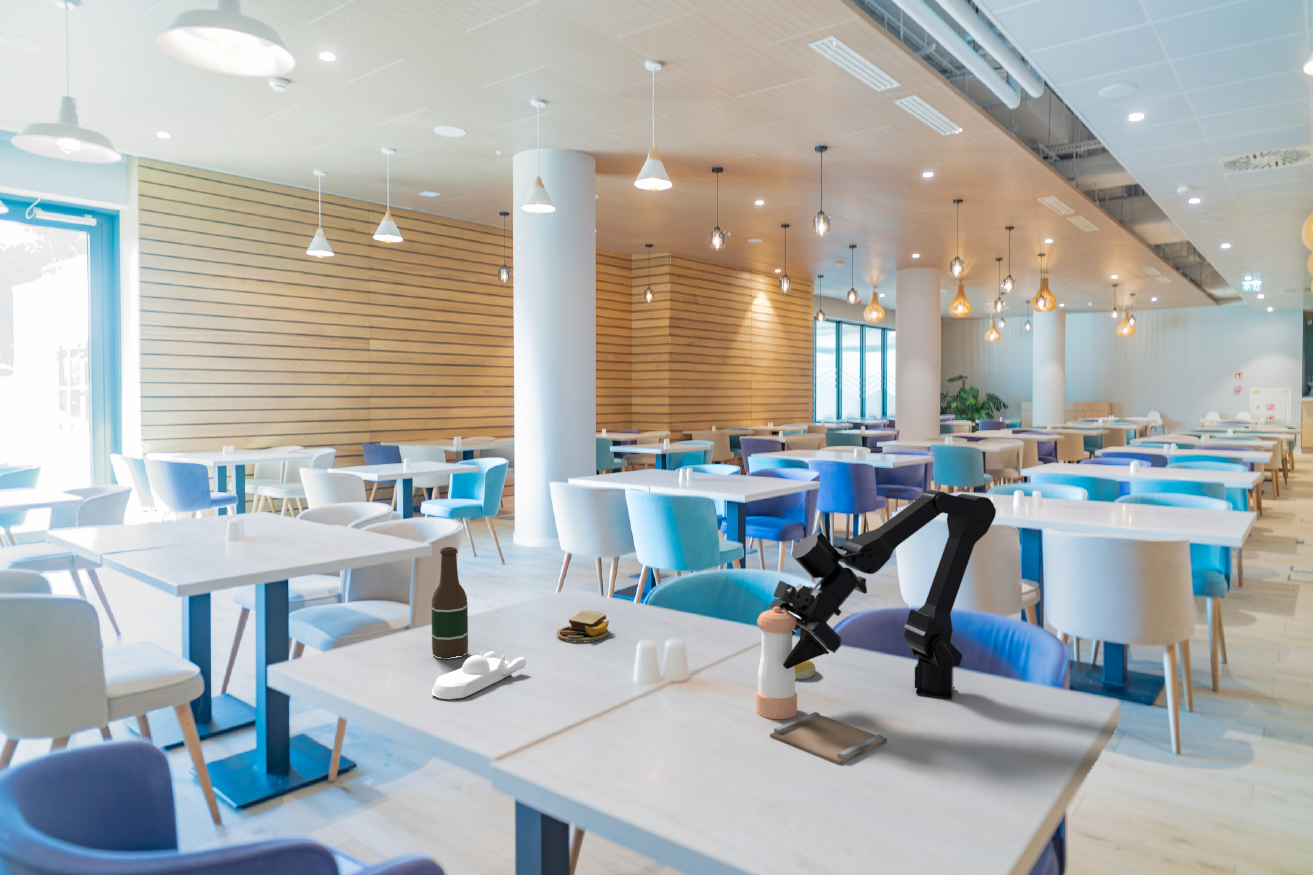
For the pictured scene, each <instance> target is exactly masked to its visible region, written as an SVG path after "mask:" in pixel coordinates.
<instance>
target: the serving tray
mask: <svg viewBox="0 0 1313 875" xmlns="http://www.w3.org/2000/svg"><path fill="white" fill-rule="evenodd" d="M769 737H770V738H771V739H774V740H777V741H779V742H782V743H784V744H786V745H790V746H792V747H794V748H797V749H799V750H802V751H804V752H807V753H809V754H812V755H814V756H816V757H820V758H821V759H824V760H825V761H826V760H827V761H829V762H831V761H832V763H834V764H837V765H841V764H843V763H845V761H846V762H848V761H849V760H852V759H854V758H856V757H858V756H860V755H862V754H864V753H867V752H868V751H867V750H869V751H870V749H871V750H873V749H875V748H877V747H879V746H882V745H883V744H885V743H887V742H888V738H886V737H885V736H884V735H881V734H875V733H872V732H870V731H867V730H864V729H861V728H858V727H855V726H853V725H849V724H846V723H844V722H841V721H838V720H835V719H832V718H829V717H826V716H825V715H821V713H819V712H817V711H813V712H811V713H809V714H807V715H804V716H802V717H798V718H796V719H794V720H792V721H789V722H787V723H784V724H781V725H779V726H776V727H774V728H773V732H771V733H770V734H769ZM874 747H875V748H874ZM872 748H873V749H872ZM861 753H862V754H861ZM857 755H858V756H857ZM851 758H852V759H851Z"/></svg>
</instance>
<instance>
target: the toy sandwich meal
mask: <svg viewBox="0 0 1313 875" xmlns="http://www.w3.org/2000/svg"><path fill="white" fill-rule="evenodd" d="M606 619H607V615H606V614H605V613H604V612H600V611H596V610H591V609H590V610H588V609H584V610H580V611H579V612H578V613H576V615H573V616H572V617H571V618H569V619H568V623H569V624H570V625H568V626H564V627H561V628H559V629H558V630H557V631H556V636H558V637H559V639H561V640H562V639H564V640H563V641H565V640H568V641H567V642H569V641H576V642H575V643H585V642H584V641H592V642H594V641H593V640H597V639H600V640H602V639H604V638H606V636H607V635H608V634H609V629H608V626H609V622H610V621H609V620H606ZM603 637H604V638H603ZM601 638H602V639H601ZM597 641H598V640H597Z"/></svg>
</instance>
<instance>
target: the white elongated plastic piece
mask: <svg viewBox="0 0 1313 875" xmlns="http://www.w3.org/2000/svg"><path fill="white" fill-rule="evenodd" d="M526 665H527V662H526V659H525V657H523V656H519V657H517V658H515V659H513V660H512V661H511V662H509V661H508V660H506V654H503V655H502V657H501V658H500V659H499V658H497V654H496V653H495V652H494V651H491V650H490V651H488V652H485V653H484V650H481V651H480V653H479V654H477V655H471V656H469V657H468V658H466V660H464V662H463V663H462V666H461V667H460V668H459V669H455V670H453V671H450V672H448V673H445V674H443V675H440V676H438V677H437V678H436V679H435V682H434V685H433V688H432V689H431V696H432V695H433V696H432V697H434V696H436V697H435V698H437V697H438V699H441V700H442V699H443V700H455V699H463V698H466V697H468V696H470V695H473V694H475V693H477V692H479V691H481V690H483V689H486V688H487V687H489V686H491V685H493V684H495V683H497V682H499V681H501V680H503V679H505V678H507V677H509V676H510V675H512V674H513V673H515V672H517V671H518V670H522V669H524V668H525V667H526Z"/></svg>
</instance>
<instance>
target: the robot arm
mask: <svg viewBox="0 0 1313 875" xmlns="http://www.w3.org/2000/svg"><path fill="white" fill-rule="evenodd" d="M996 513H997V509H996V507H995V505H994V502H993V501H992V500H991V499H990V498H988V497H984V496H981V495H973V494H968V493H960V494H957V495H953V494H950V493H949V494H948V493H947V492H944V491H940V490H934V489H928V490H925V491H924V492H922V494H921V495H920V497H919V498H917V499H916V500H915V501H913V502H911V503H910V504H909V505H908V506H906V507H905V508H904V509H902V510H901V511H900V512H898V513H897V514H895V515H894V516H893V517H892V518H890V519H889V520H887V521H885V523H883V524H882V525H880V526H879V527H877V528H875V529H872V530H869V531H867V532H866V531H865V532H863V533H860V534H857V535H856V536H854V537H852V538H850V539H848V540H847V541H845V543H844V544H842V545H838V546H833V545H832V544H831V542H830V541H829V540H828V539H827V537H826V536H825V535H824V533H823V532H820V531H817V530H816V531H814V533H812V535H809V536H806V537H805V538H802V540H800V541H798V542H797V543H796V545H795V546H794V547H793V549H792V551H791V556H792V558H793V559H794V560H795V561H796V562H797V563H798V564H799V565H800V566H801V567H802V568H803V569H804V570H805V572H806V573H808V574H809V575H810V577H811V578H813V579H819V578H820V580H819V581H818V583H817V584H815V586H814V587H813V586H811V585H809V586H806V585H803V584H802V583H798V584H797V586H794V585H791V584H789V583H786V582H785V581H784V580H783V581H782V580H779V581H778V583H777V586H776V588H775V590H774V592H773V595H772V596H773V597H774V600H772V602H771V603H770V604H769V605H768V607H769V610H772V609H773V607H780V608H781V609H782V610H784V611H787V612H789V613H791V614H793V615H794V617H795V619H796V622H797V624H796V627H795V629H794V630H793V631H792V637H793V636H795V635H796V634H797V633H796V632H795V631H797V630H799V629H800V632H799V633H800V634H799V640H798V642H797V643H796V644H795V646H794V647H792V651H791V653H790V654H789V655H788V657H787V658H786V660H785V662H784V663H783V666H784V667H785V668H786V669H789V668H791V667H793V666H796V665H798V664H800V663H803V662H805V661H807V660H810V661H811V660H812V659H815V658H817V657H821V656H823V655H829V654H830V652H831V653H833V654H835V653H837V651H839V649H840V648H841V646H842V637H841V636H840V635H839V634H838V633H837V632H836V631H835V630H834V629H833V628H832V627H831V625H829V624H828V622H829V620H830V619H831V618H832V617H833V616H837V617H839V616H840V615H841V614H842V610H841V609H840V608H841V606H842V605H843V604H844V603H845V602H846V601H847V599H848V598H849V597H850V596H851V595H852V593H853V592H854V591H857V592H860V593H861V594H865V595H866V594H868V588H867V578H865V577H862V576H858V575H856V573H855V572H854V571H853V570H855V571H857V572H860V573H863V574H867V575H872V574H873V575H874V574H876V573H878V572H879V571H880V570H881V569H883V567H884V565H886V564H887V562H889V561H890V559H891V558H892V555H893V552H894V550H895V549H896V548H897V547H899V545H901V544H902V543H904V542H905V541H906V540H908V539H909V538H911V536H913V535H914V534H915V533H917V532H918V531H919V530H921V529H922V528H923V527H925V526H926V525H927V524H929V523H930V522H931V521H933V520H934V519H935V518H937V517H938V516H939V515H941V514H947V516H946V524H947V530H948V537H947V540H946V543H945V545H944V548H943V551H942V554H941V557H940V560H939V562H938V566H937V568H936V572H935V575H934V577H933V579H932V583H931V586H930V588H929V591H928V595H927V597H926V599H925V600H926V601H925V603H924V605H922V606H921V607H920V608H919V609H917V610H916V609H914V608H911V609H910V610H909V611H908V612H909V613H908V618H907V620H906V623H905V624H904V626H903V628H902V629H905V630H904V634H903V635H904V638H903V639H904V640H905V641H906V642H905V643H906V644H907V646H909V648H910V651H911V654H912V655H913V657H918V660H917V663H916V664H915V667H914V688H915V689H916V690H915V694H916V695H919V696H927V697H933V698H941V699H948V700H952V699H953V696H954V692H955V689H956V688H955V686H954V671H955V670H954V668H955V667H959V666H961V663H962V661H963V660H962V659H963V654H962V653H961V652H960V651H959V649H957V647H955V646H954V644H953V643H952V637H953V632H954V628H953V623H952V616H951V613H952V610H953V608H954V605H955V602H956V599H957V596H958V595H959V594H958V593H959V590H960V588H961V585H962V581H963V579H964V576H965V574H966V570H967V567H968V565H969V561H970V559H971V556H972V553H973V550H974V547H975V545H976V544H977V542H978V541H980V540H981V539H982V537H984V536H985V535H986V534H987V533H988V532H989V530H990V527H991V525H992V524H993V522H994V521H995V519H996V518H995V517H996V515H997V514H996ZM840 563H842V564H844V565H845V566H846V567H844V566H842V564H840ZM760 649H761V651H762V648H760ZM829 651H830V652H829Z"/></svg>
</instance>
